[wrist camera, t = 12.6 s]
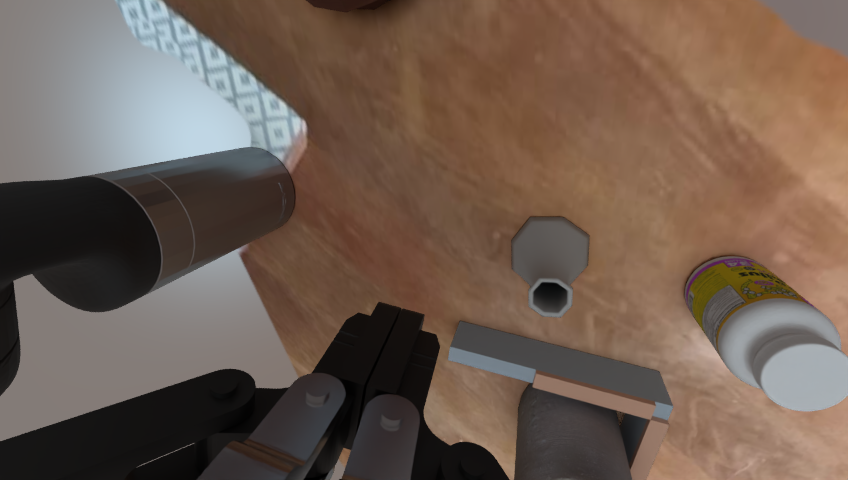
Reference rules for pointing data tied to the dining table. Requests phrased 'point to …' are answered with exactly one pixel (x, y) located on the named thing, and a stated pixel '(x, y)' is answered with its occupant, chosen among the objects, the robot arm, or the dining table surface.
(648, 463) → the corner arena
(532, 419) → the pillar candle
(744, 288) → the supplement bottle
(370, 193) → the dining table surface
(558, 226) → the flask
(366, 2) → the muffin
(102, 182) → the robot arm
